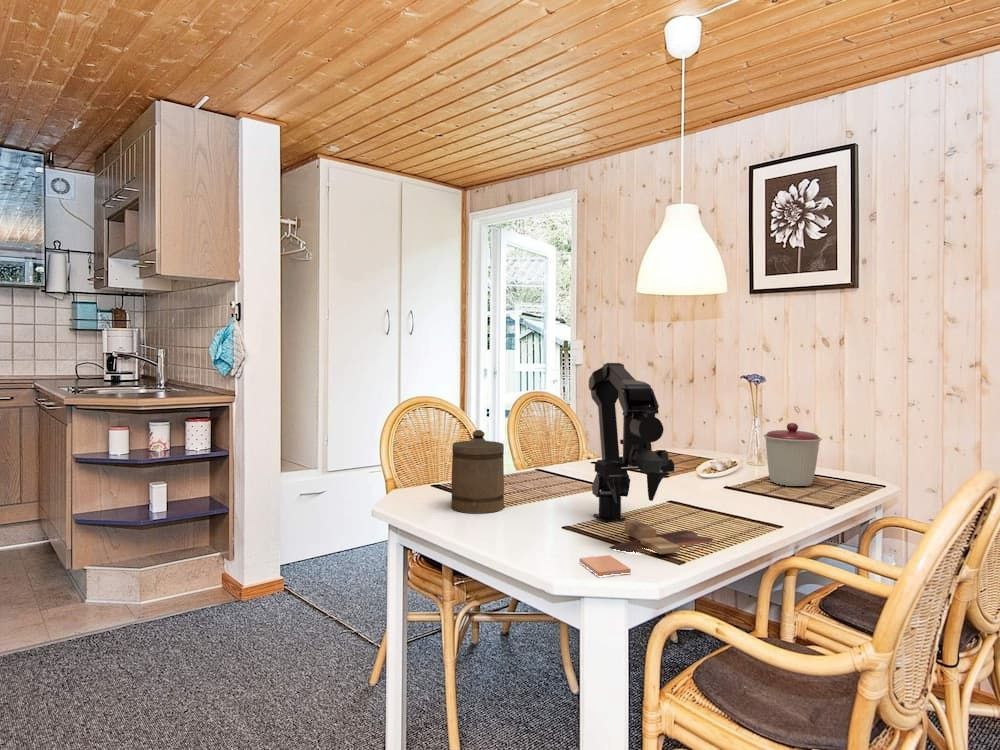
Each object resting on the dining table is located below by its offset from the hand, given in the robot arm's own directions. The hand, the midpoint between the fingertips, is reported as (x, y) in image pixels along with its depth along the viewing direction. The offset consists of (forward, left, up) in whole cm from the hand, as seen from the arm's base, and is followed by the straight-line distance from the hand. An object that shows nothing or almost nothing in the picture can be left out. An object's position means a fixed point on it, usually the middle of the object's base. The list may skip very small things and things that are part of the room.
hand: (634, 501), depth 153 cm
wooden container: (-41, -26, -9) cm, 49 cm away
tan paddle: (+5, +1, -8) cm, 10 cm away
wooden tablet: (+5, +4, -10) cm, 12 cm away
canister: (-40, +86, -9) cm, 95 cm away
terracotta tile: (+12, -17, -9) cm, 22 cm away
